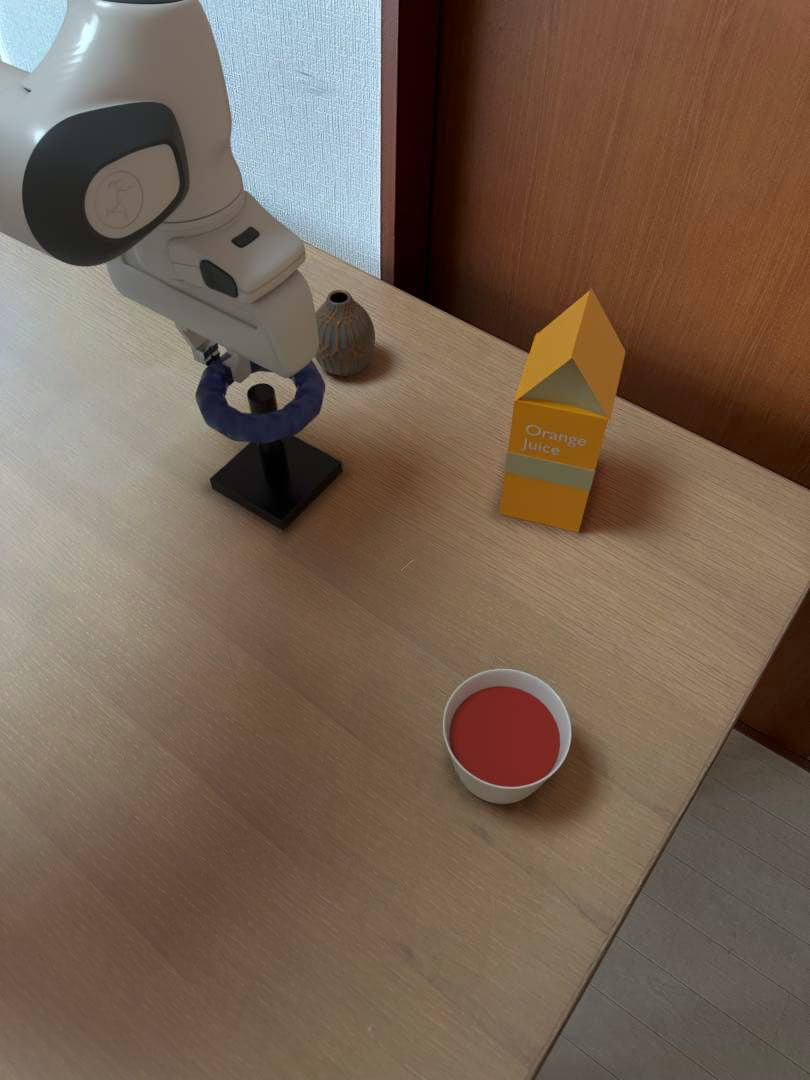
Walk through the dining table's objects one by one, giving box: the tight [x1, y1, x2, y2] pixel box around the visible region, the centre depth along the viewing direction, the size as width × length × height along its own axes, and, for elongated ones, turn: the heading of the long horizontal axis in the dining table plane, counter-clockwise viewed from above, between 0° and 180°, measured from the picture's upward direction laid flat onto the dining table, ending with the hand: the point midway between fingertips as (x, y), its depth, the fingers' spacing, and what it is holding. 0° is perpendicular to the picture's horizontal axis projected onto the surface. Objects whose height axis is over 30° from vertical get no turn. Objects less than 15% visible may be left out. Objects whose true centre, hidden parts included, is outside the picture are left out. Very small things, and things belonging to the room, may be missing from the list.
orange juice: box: [499, 287, 626, 533], centre depth 72 cm, size 8×9×20 cm
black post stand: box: [209, 382, 344, 532], centre depth 76 cm, size 9×9×12 cm
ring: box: [194, 351, 326, 444], centre depth 71 cm, size 11×11×2 cm
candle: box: [442, 668, 572, 805], centre depth 61 cm, size 9×9×6 cm
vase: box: [314, 289, 376, 377], centre depth 87 cm, size 7×7×9 cm
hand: (223, 368), depth 72 cm, fingers closed on ring, 2 cm apart
